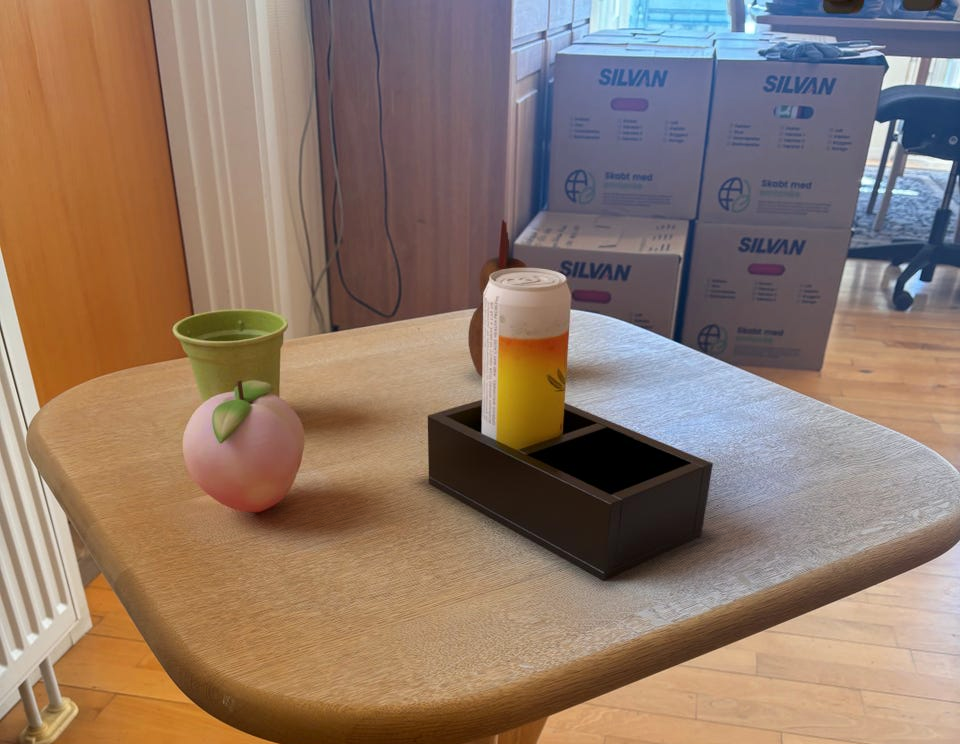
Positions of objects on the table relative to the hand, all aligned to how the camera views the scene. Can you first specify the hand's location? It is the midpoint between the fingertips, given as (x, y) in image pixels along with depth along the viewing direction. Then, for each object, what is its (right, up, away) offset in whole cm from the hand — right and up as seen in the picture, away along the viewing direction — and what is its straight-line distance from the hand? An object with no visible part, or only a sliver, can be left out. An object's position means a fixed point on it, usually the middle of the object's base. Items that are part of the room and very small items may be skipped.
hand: (882, 12), depth 58 cm
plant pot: (-45, -18, +29) cm, 56 cm away
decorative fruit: (-41, -28, +14) cm, 52 cm away
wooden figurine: (-22, -11, +39) cm, 46 cm away
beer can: (-21, -25, +17) cm, 37 cm away
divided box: (-18, -28, +15) cm, 36 cm away
